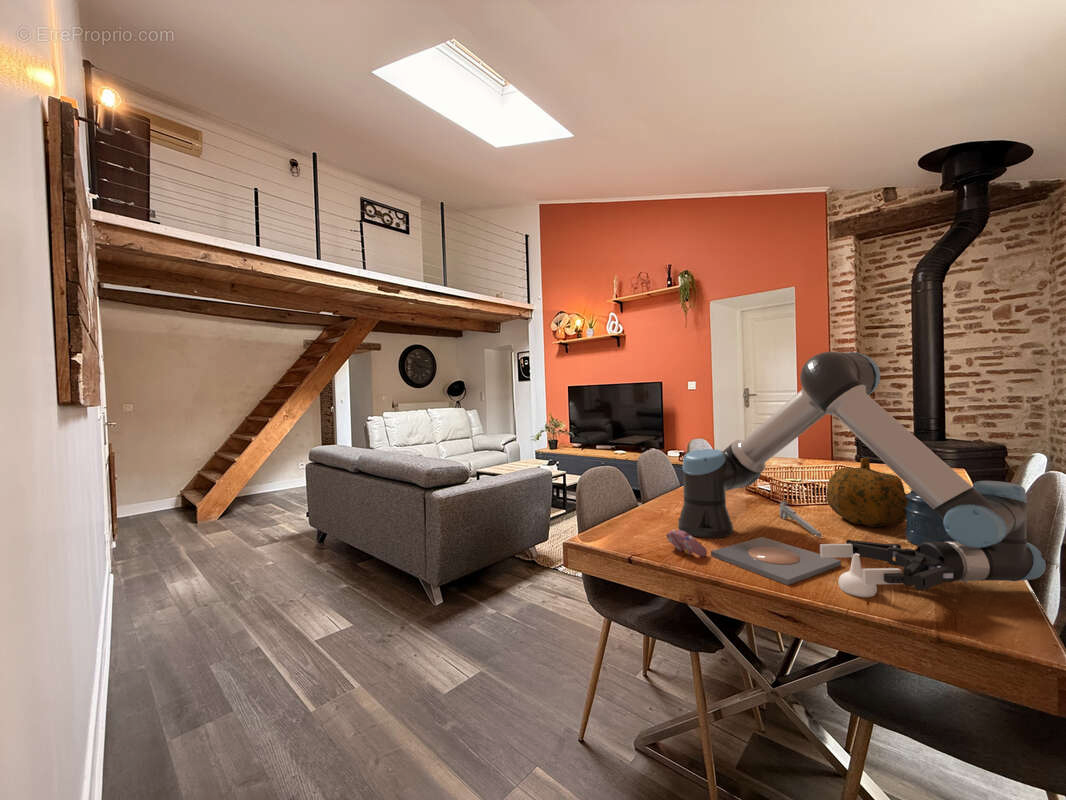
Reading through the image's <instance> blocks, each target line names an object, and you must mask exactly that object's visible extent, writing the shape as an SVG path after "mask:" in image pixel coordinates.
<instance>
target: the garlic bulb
mask: <svg viewBox="0 0 1066 800" xmlns="http://www.w3.org/2000/svg"><path fill="white" fill-rule="evenodd" d="M859 555H860V554H857V553H855V554H853V557H852V558H851V562H850V563H851V564H850V569H849V570H848V571H845V572H843V573H841V575H840V576H839V577H838V586H839V588H840V590H842V591H843V592H844V593H846V594H849V595H850V596H855V597H859V598H872V597H874V596H875V595H877V591H878V587H877V584H864V583H863V567H862V563H861V559H860V558H861V557H859Z"/></svg>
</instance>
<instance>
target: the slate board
mask: <svg viewBox="0 0 1066 800" xmlns="http://www.w3.org/2000/svg"><path fill="white" fill-rule="evenodd" d="M710 556H711V557H713V558H715V559H718V560H721V561H723V562H726V563H729V564H731V565H734V566H736V567H739V568H742V569H744V570H747V571H750V572H753V573H755V574H757V575H760V576H762V577H765V578H768V579H770V580H773V581H776V582H778V583H781V584H783V585H786V586H789V585H792V584H795V583H797V582H798V583H799V582H801V581H804V580H806V579H809V578H811V577H814V576H818V575H819V574H820V575H821V574H822V573H825V572H829V571H830V569H831V570H834V569H835V567H836V568H838V566H839V567H840V566H842V560H839V558H838V559H837V558H822V557H820V553H817V552H814V551H811V550H807V549H804V548H801V547H797V546H794V545H790V544H787V543H784V542H781V541H778V540H773V539H771V538H767V537H764V536H761V537H757V538H754V539H750V540H747V541H743V542H739V543H735V544H730V545H728V546H725V547H721V548H718V549H713V550H711V551H710Z"/></svg>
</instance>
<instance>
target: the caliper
mask: <svg viewBox="0 0 1066 800" xmlns="http://www.w3.org/2000/svg"><path fill="white" fill-rule="evenodd" d="M779 503H780V504H779V518H780V519H782V520H783V519H787V520H788V518H789V519H790V520H791V521H796V522H797V523H798V524H799V525H801V526H802V527H803V528H804V529H806V530H807V531H808V532H809V533H811V534H812V535H813V534H814V535H816V536H818V537H817V538H819V537H824V535H822V532H821V531H819V530H818V529H816V527H814V526H812V525H811V524H810V523H809V522H808V521H806V520H805V519H804V518H802V516H799V514H797V512H796V511H795V510H794V509H793V508H792V507H791V506H789V505H788V501H786V500H785V499H782V500H781V502H779ZM781 517H783V518H781ZM814 535H813V536H814ZM816 536H815V537H816Z"/></svg>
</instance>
